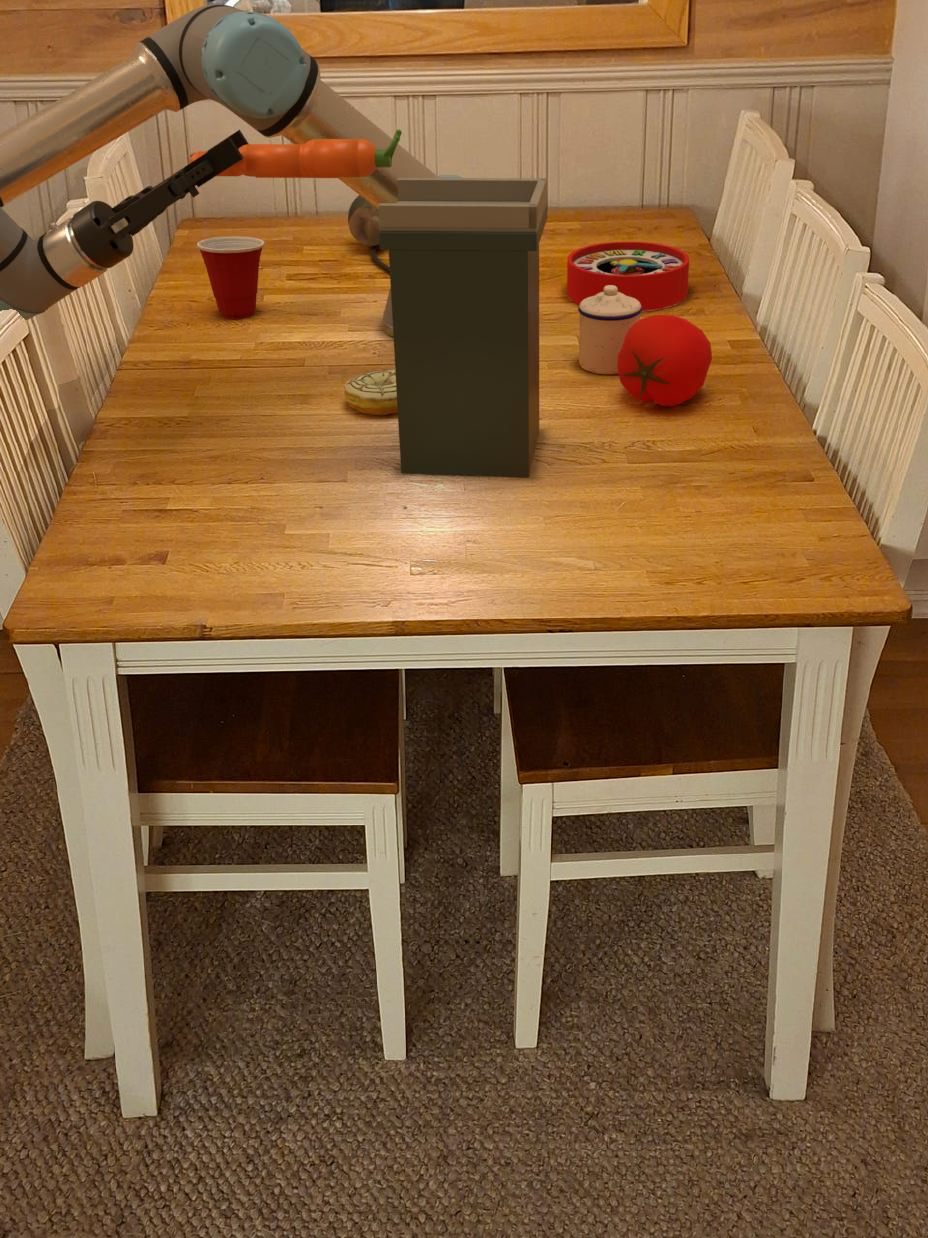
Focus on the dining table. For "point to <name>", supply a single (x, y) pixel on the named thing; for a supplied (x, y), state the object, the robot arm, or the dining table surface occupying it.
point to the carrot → (311, 159)
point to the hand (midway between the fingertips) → (240, 144)
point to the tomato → (664, 360)
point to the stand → (466, 322)
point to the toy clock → (630, 273)
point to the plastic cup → (233, 273)
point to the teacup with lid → (605, 328)
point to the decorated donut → (373, 392)
